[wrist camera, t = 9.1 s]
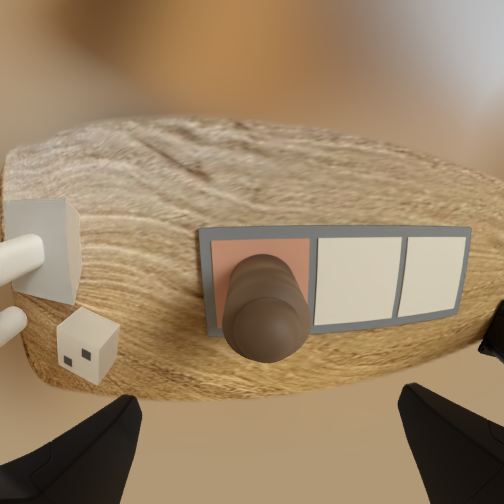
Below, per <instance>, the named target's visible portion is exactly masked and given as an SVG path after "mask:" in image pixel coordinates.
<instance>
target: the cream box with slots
mask: <svg viewBox="0 0 504 504" xmlns="http://www.w3.org/2000/svg"><path fill="white" fill-rule="evenodd" d="M119 331H120V325H119V324H117V323H115V322H113V321H111V320H108V319H106V318H104V317H102V316H100V315H98V314H96V313H94V312H92V311H90V310H88V309H86V308H84V307H82V306H81V307H80V308H79V309H77V310H76V311H75V312H74V313H73V314H71V315H70V316H69V317H68V318H66V319H65V320H64V321H63V322H62V323H60V324H59V325H58V326H57V351H58V364H59V365H60V366H62V367H64V368H65V369H67V370H69V371H71V372H72V373H74V374H76V375H78V376H80V377H82V378H83V379H85V380H87V381H89V382H91V383H93V384H95V385H97V386H99V384H100V383H101V381H102V380H103V378H104V377H105V375H106V374H107V372H108V371H109V370H110V368H111V367H112V365H113V364H114V362H115V361H116V357H117V348H118V339H119Z"/></svg>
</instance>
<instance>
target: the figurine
mask: <svg viewBox="0 0 504 504" xmlns="http://www.w3.org/2000/svg"><path fill="white" fill-rule="evenodd" d="M4 223H5V237H6V241H4V242H1V243H0V287H1V286H3V285H5V284H7V283H9V282H12V288H13V291H16V292H20V293H24V294H28V295H31V296H35V297H39V298H43V299H48V300H52V301H56V302H60V303H65V304H70V305H74V304H75V299H76V294H77V290H78V285H79V281H80V276H81V272H82V257H81V242H80V214H79V213H78V212H77V211H76V209H75V208H74V207H73V206H72V205H71V204H70V203H69V202H68V201H67V199H66V198H64V199H31V200H10V201H4ZM26 326H27V316H26V314H25V313H24V312H23V311H22V310H21V309H20V308H18V307H15V306H11V307H8V308H6V309H4V310H3V311H1V312H0V347H2V346H3V345H4V344H6V343H7V342H8V341H9V340H11V339H12V338H13V337H14V336H16V335H17V334H18V333H20V332H21V331H22V330H23V329H24V328H25V327H26Z"/></svg>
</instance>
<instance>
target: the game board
mask: <svg viewBox="0 0 504 504" xmlns="http://www.w3.org/2000/svg"><path fill="white" fill-rule="evenodd" d="M471 231H472V228H471V227H452V226H408V225H293V226H245V227H213V228H199V242H200V257H201V270H202V282H203V293H204V304H205V314H206V323H207V333H208V337H224V334H223V330H222V318H223V313H224V307H225V302H226V297H227V292H228V287H229V282H230V278H231V275H232V272H233V270H234V269H235V267H236V266H237V265H238V264H239V263H240V262H241V261H243V260H244V259H246V258H247V257H250V256H252V255H257V254H269V255H273V256H276V257H278V258H280V259H281V260H283V261H284V262H285V263H286V264H287V265H288V266H289V267H290V269H291V271H292V273H293V275H294V277H295V279H296V281H297V283H298V285H299V288H300V290H301V292H302V294H303V296H304V298H305V301H306V303H307V305H308V307H309V310H310V313H311V320H312V324H311V330H310V333H309V334H320V333H332V332H344V331H354V330H363V329H372V328H380V327H387V326H395V325H402V324H408V323H415V322H421V321H427V320H432V319H438V318H443V317H448V316H454V315H457V313H458V309H459V305H460V300H461V296H462V291H463V286H464V281H465V276H466V270H467V264H468V257H469V250H470V241H471Z"/></svg>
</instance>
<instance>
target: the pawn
mask: <svg viewBox="0 0 504 504" xmlns="http://www.w3.org/2000/svg"><path fill="white" fill-rule="evenodd" d="M311 324H312V320H311V313H310V310H309V307H308V305H307V303H306V301H305V298H304V296H303V294H302V292H301V290H300V288H299V285H298V283H297V281H296V279H295V277H294V275H293V273H292V271H291V269H290V267H289V266H288V265H287V264H286V263H285V262H284V261H283V260H281V259H280V258H278V257H276V256H273V255H269V254H257V255H252V256H250V257H247V258H246V259H244V260H243V261H241V262H240V263H239V264H238V265H237V266H236V267H235V269H234V270H233V272H232V275H231V278H230V282H229V287H228V292H227V297H226V302H225V307H224V313H223V318H222V330H223V334H224V337H225V339H226V341H227V343H228V344H229V346H230V347H231V348H232V349H233V350H234V351H235V352H237V353H238V354H240V355H241V356H243V357H245V358H248V359H251V360H254V361H257V362H262V363H273V362H277V361H280V360H282V359H284V358H286V357H288V356H290V355H291V354H293V353H294V352H296V351H297V350H298V349H299V348H300V347H301V346H302V345H303V344H304V342H305V341H306V339H307V338H308V335H309V333H310V330H311Z"/></svg>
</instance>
